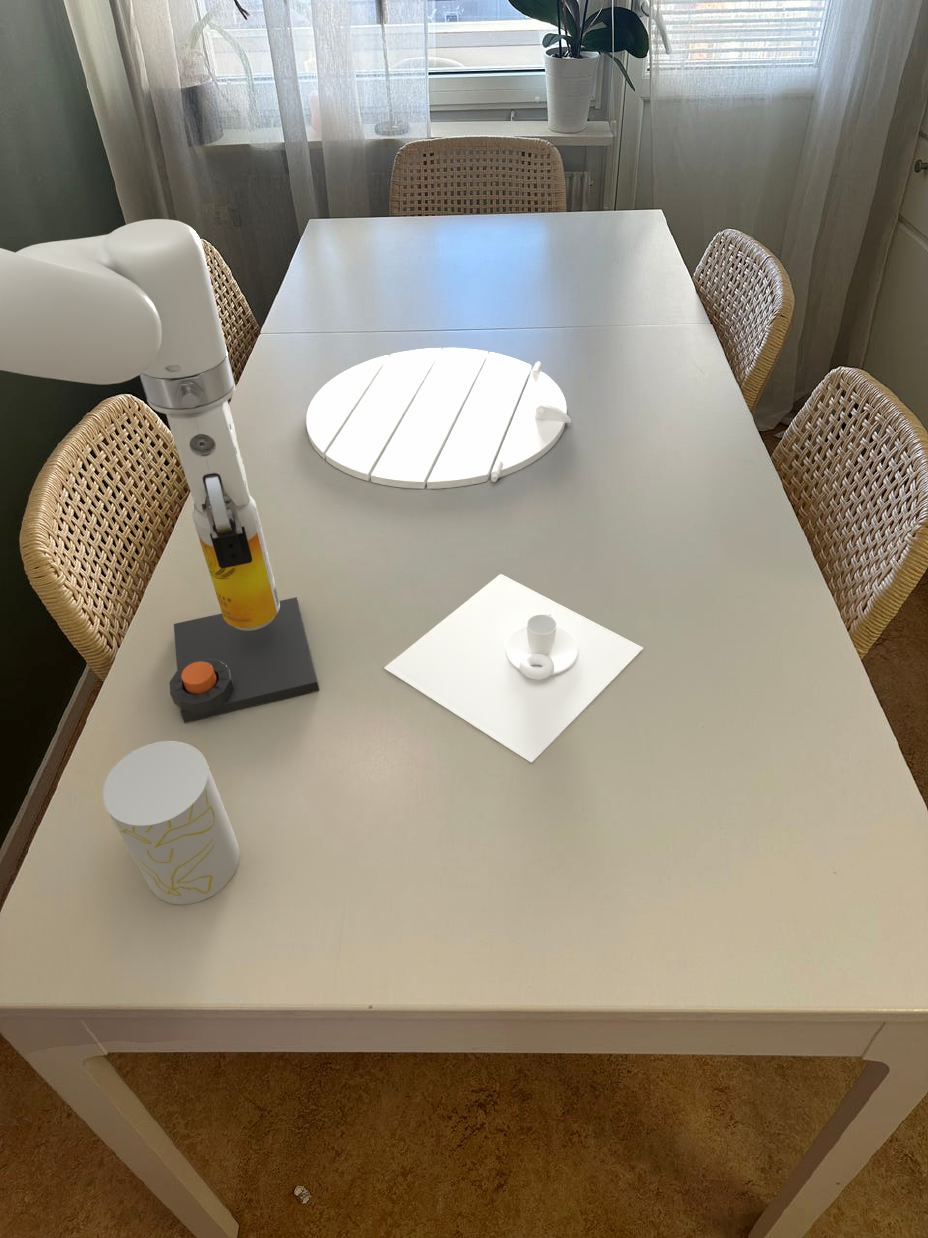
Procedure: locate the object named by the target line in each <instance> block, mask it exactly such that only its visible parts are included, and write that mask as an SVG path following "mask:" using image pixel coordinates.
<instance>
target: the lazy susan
mask: <svg viewBox="0 0 928 1238" xmlns="http://www.w3.org/2000/svg"><path fill="white" fill-rule="evenodd" d="M542 367H543V363H542V362H541V361H537V362H535V364H534V365H533V367H532V365H531V364H530V363H528V362H525V361H523V360H520V359H518V358H515V357H512V356H509V355H505V354H502V353H498V352H493V351H490V352H489V351H488V350H482V349H473V348H465V347H443V348H442V347H429V348H428V347H427V348H417V349H411V350H404V351H398V352H394V353H391V354H390V355H389V354H385V355H381V356H378V357H375V358H371V359H369V360H366V361H363V362H361V363H359V364H356V365H353V366H352V367H350V368H348V369H345V370H344V371H342V372H341V373H339V374H337V375H336V376H334V377H333V378H331V379H330V380H329V381H328V382H326V383H325V384H323V386H322V387H321V388H320V389H319V390H318V391H317V392H316V394H314V396H313V398H312V399H311V401H310V403H309V405H308V408H307V411H306V415H305V426H306V430H307V437H308V439H309V442H310V444H311V445H312V447H313V449H314V450H315V452H316V453H317V454H318V455H319V456H320V458H321V457H322V459H323V460H325V461H326V462H327V464H329V465H331V466H333V467H334V468H336V469H337V470H339V471H341V472H343V473H345V474H347V475H349V476H351V477H355V478H357V479H360V480H362V481H366V482H369V481H370V482H371V483H374V484H378V485H383V486H387V487H394V488H401V489H404V488H405V489H416V490H417V489H418V490H425V488H426V489H427V490H436V489H439V490H440V489H451V488H460V487H465V486H466V487H467V486H472V485H477V484H481V483H485V482H488V481H489V478H490V481H491V482H493V483H496V482H497V481H498V479H499V478H502V477H505V476H508V475H511V474H513V473H516V472H518V471H520V470H522V469H524V468H526V467H528V466H530V465H531V464H533V463H535V462H536V461H538V460H539V459H540V458H541V457H543V456H544V455H546V453H548V452H549V451H550V450H551V449H552V448H553V447H554V446H555V445H556V444H557V442H558V441H559V439H560V438H561V436H562V434H563V433H564V430H565V426H566V424H571V422H572V419H571V417H570V416H569V415H568V413H567V402H566V398H565V396H564V393H563V391H562V390H561V388H560V387H559V385H558V384H557V383H556V382H555V380H553V379H552V378H551V377H550V376H548V375H547V374H546V373H545V372H543V371H542Z"/></svg>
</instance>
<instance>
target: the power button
mask: <svg viewBox="0 0 928 1238" xmlns="http://www.w3.org/2000/svg"><path fill="white" fill-rule="evenodd" d="M181 677H182V680H183V683H184V686H185V688H186V690H187V691H188V692H190V693H192V694H202V693H205V692H208V691H209V690H211V689H212V688H213V687H214V686H215V684H216V675H215V672H214V669H213V667H212V665H210V664H209V663H207V662H195V663H192V664H190V665H188V666H187V667H186V668H185V669H184V670H183V672H182V675H181Z"/></svg>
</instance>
